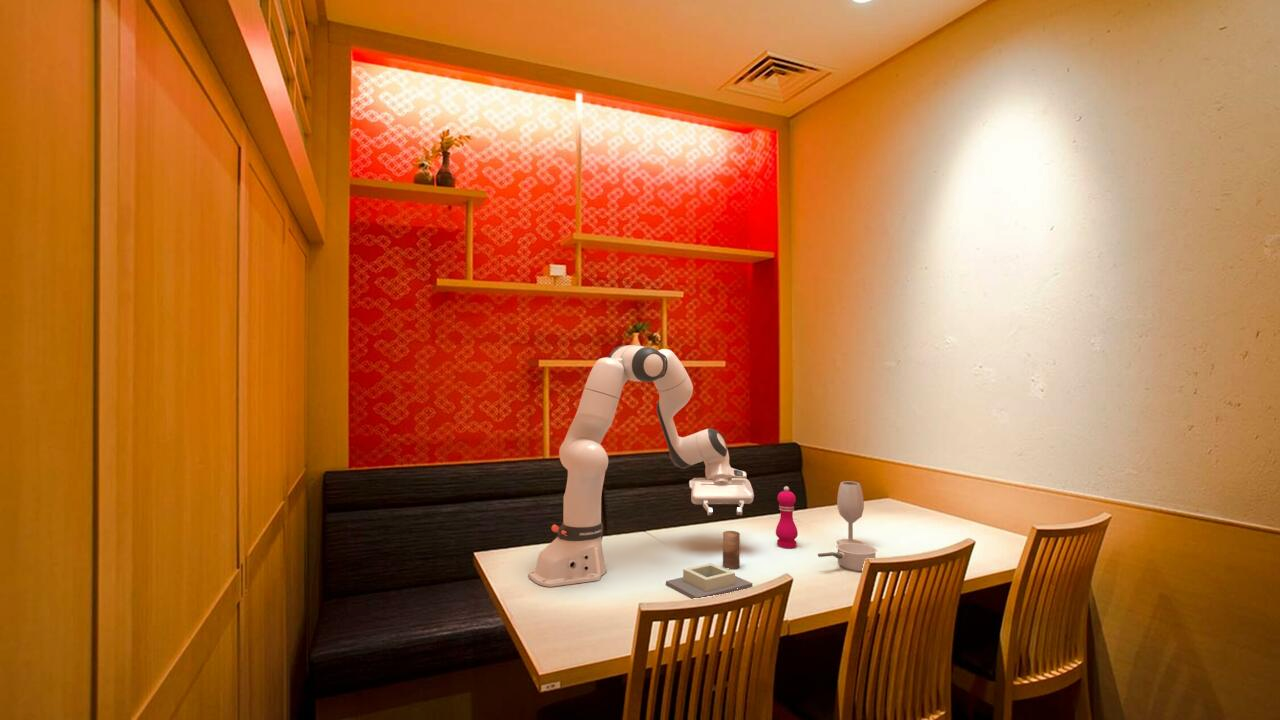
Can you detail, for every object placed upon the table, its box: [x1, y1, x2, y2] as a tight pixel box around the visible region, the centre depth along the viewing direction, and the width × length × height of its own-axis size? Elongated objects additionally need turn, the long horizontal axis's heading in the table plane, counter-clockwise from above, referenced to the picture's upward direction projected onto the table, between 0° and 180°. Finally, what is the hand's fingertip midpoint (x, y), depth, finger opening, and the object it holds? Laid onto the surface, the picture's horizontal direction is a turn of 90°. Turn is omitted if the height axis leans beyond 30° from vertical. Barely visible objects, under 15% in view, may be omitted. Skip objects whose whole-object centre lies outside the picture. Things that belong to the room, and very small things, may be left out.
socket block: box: [665, 562, 753, 600], centre depth 162 cm, size 19×14×4 cm
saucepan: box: [817, 543, 878, 572], centre depth 177 cm, size 12×20×6 cm, turn 114°
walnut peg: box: [722, 530, 741, 570], centre depth 178 cm, size 5×5×10 cm
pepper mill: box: [775, 485, 799, 549], centre depth 200 cm, size 7×7×20 cm
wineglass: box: [836, 481, 866, 545], centre depth 201 cm, size 9×9×21 cm
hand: (725, 514), depth 188 cm, fingers open, 8 cm apart
